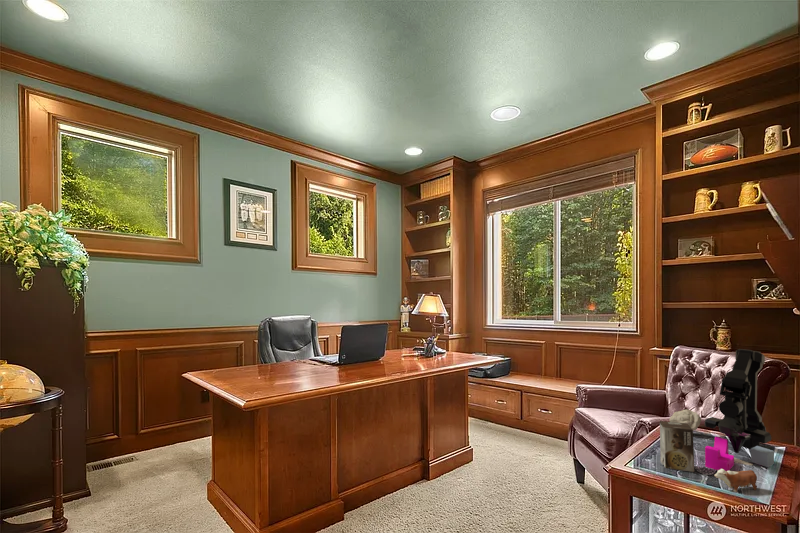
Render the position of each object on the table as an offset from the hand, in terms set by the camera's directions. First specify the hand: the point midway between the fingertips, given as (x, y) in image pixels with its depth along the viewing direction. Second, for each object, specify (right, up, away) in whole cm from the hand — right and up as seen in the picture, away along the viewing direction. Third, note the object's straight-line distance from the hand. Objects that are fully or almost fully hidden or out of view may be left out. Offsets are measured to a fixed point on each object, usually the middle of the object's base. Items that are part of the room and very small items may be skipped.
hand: (736, 452), depth 152 cm
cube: (+10, -4, 0) cm, 10 cm away
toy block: (-7, -4, -1) cm, 8 cm away
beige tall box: (-25, -5, -4) cm, 26 cm away
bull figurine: (-17, -4, -20) cm, 27 cm away
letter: (-3, -4, +1) cm, 5 cm away
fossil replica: (+1, -4, +29) cm, 29 cm away
